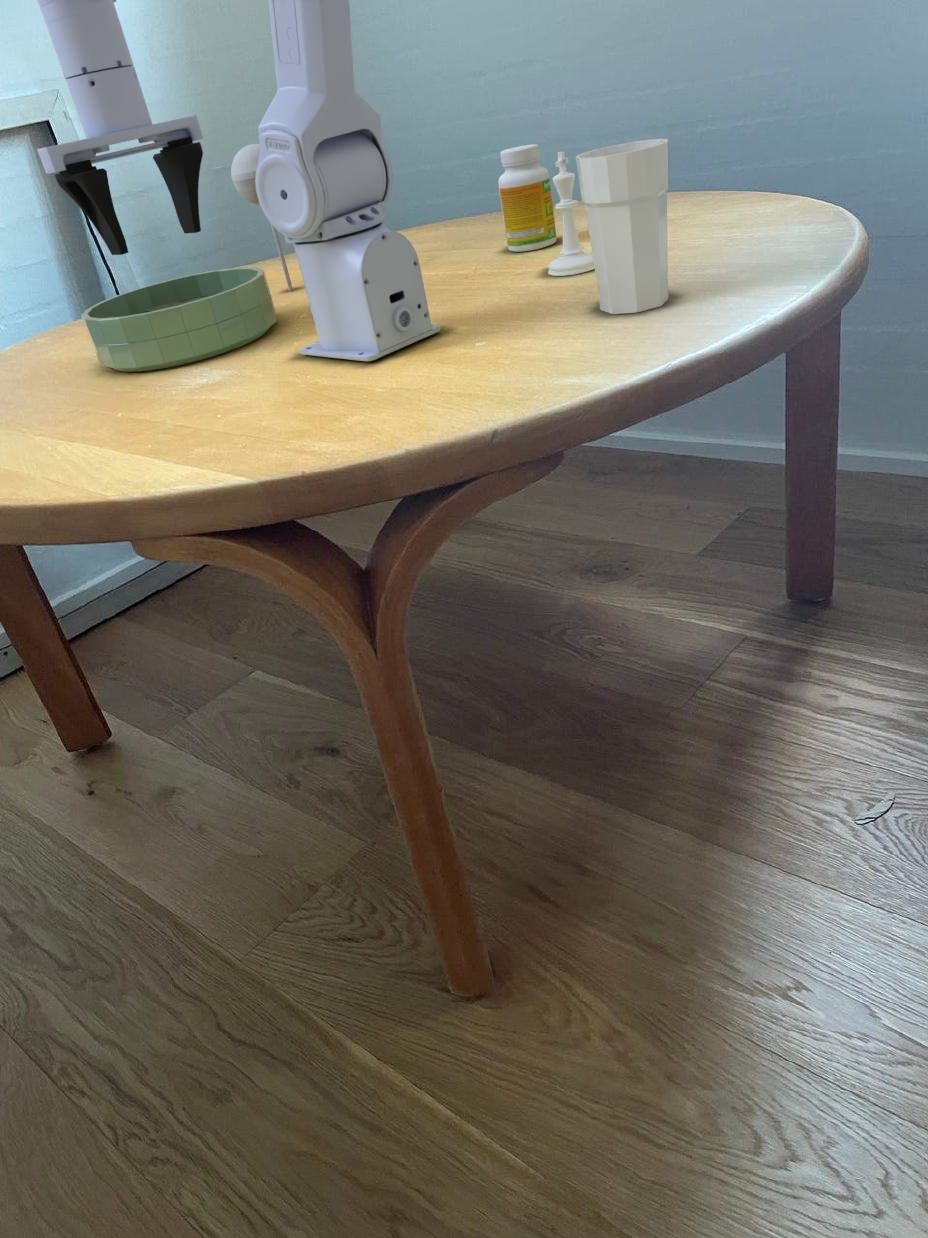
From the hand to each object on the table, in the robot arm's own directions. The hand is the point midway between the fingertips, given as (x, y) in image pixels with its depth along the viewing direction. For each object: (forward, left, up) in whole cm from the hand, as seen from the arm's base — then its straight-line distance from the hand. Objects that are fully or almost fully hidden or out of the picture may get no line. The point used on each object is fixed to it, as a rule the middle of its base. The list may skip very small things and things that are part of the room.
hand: (157, 242), depth 84 cm
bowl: (0, 0, -9) cm, 9 cm away
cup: (-40, -17, -10) cm, 45 cm away
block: (0, 0, -9) cm, 9 cm away
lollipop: (+8, -18, -10) cm, 22 cm away
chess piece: (-26, -27, -10) cm, 39 cm away
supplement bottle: (-13, -36, -10) cm, 39 cm away
